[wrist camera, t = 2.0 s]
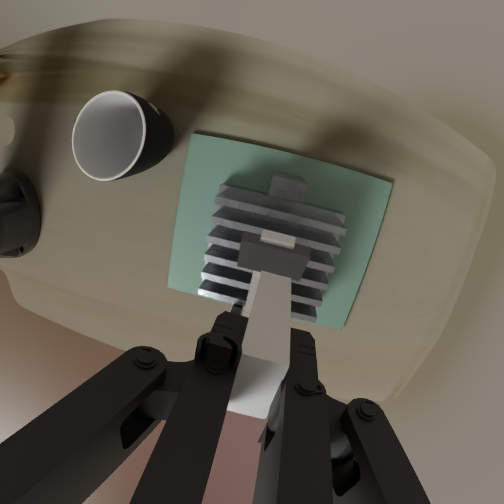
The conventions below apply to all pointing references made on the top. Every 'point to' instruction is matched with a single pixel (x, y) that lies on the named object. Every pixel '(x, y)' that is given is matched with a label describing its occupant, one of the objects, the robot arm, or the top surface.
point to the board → (259, 178)
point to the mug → (120, 136)
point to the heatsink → (277, 220)
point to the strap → (271, 258)
